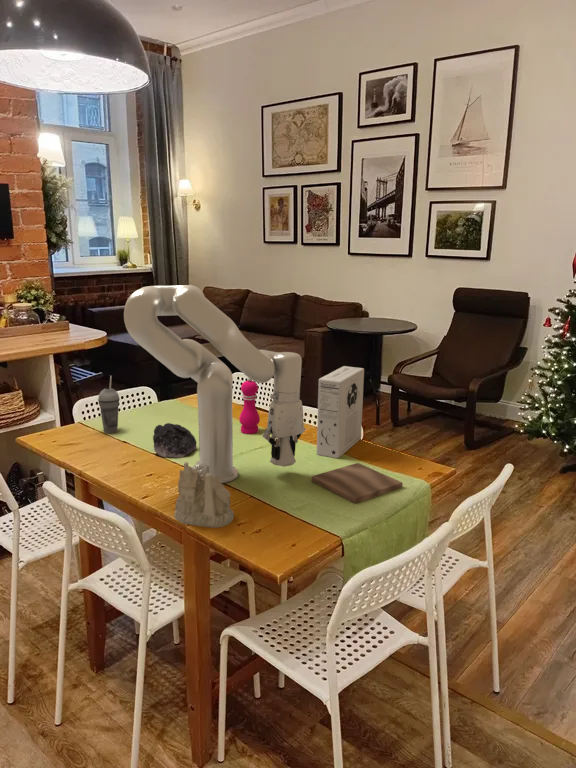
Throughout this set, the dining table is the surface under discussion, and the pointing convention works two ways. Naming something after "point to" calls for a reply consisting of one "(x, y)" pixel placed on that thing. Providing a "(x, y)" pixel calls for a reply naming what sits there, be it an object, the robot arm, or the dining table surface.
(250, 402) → the pepper mill
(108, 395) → the beverage cup
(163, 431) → the crystal cluster
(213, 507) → the miniature castle
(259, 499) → the dining table surface
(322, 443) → the cereal box
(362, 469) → the walnut board
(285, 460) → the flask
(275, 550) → the dining table surface
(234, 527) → the dining table surface
